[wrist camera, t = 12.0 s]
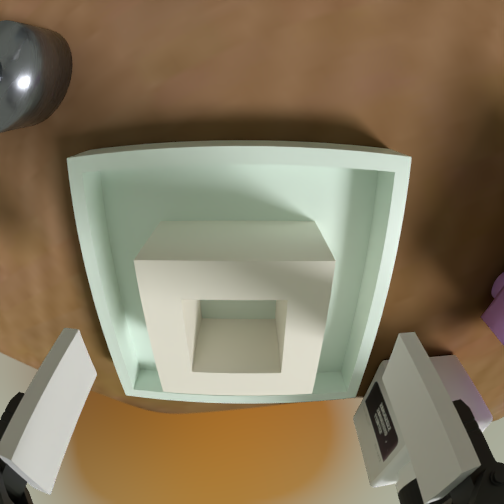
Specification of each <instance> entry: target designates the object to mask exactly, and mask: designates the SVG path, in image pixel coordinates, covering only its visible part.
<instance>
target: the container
mask: <svg viewBox="0 0 504 504" xmlns="http://www.w3.org/2000/svg"><path fill="white" fill-rule="evenodd" d="M429 358H430V360H431V362H432V364H433V366H434V368H435V369H436V371H437V373H438V375H439V377H440V379H441V381H442V383H443V385H444V387H445V388H446V390H447V392H448V394H449V396H450V398H451V400H452V401H455V400H459V399H461V400H462V401H463V402H464V403H465V404H466V405H467V406H469V407H470V409H471V411H472V413H473V415H474V417H475V421H477V423H478V425H479V429H481V431H482V432H483V431H484V430H485V429H486V427H487V426H488V425H489V424H490V423H491V422H492V419H493V418H492V415H491V413H490V411H489V409H488V408H487V406H486V404H485V402H484V401H483V399H482V397H481V395H480V394H479V392H478V390H477V389H476V387H475V385H474V384H473V382H472V380H471V379H470V377H469V376H468V374H467V372H466V371H465V369H464V368H463V366H462V364H461V363H460V361H459V360H458V358H457V357H456V356H455V355H447V356H436V357H429ZM388 362H389V360H383V361H382V362H381V363H380V365H379V368H378V370H377V372H376V374H375V376H374V378H373V380H372V382H371V384H370V386H369V388H368V390H367V392H366V394H365V396H364V398H363V400H362V402H361V404H360V406H359V408H358V410H357V412H356V414H355V415H354V418H353V420H354V424H355V427H356V431H357V435H358V439H359V442H360V446H361V450H362V454H363V458H364V462H365V466H366V470H367V474H368V478H369V482H370V485H371V486H372V487H379V486H384V485H389V484H394V483H396V489H397V493H398V497H399V500H400V504H424V502H423V499H422V495H421V492H420V488H419V485H418V482H417V478H416V475H415V472H414V469H413V466H412V462H411V459H410V456H409V453H408V450H407V447H406V444H405V441H404V438H403V435H402V432H401V429H400V427H399V424H398V421H397V418H396V415H395V412H394V410H393V407H392V404H391V401H390V399H389V396H388V393H387V391H386V388H385V385H384V383H383V380H382V377H383V374H384V372H385V369H386V367H387V364H388ZM450 498H451V495H450V492H449V493H448V494H447V495H446V496H444V497H443V498H442V499H439V500H436V501H433V502H430V503H428V504H443V503H444V502H446V501H447V500H448V499H450Z"/></svg>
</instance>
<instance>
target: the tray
mask: <svg viewBox="0 0 504 504" xmlns="http://www.w3.org/2000/svg"><path fill="white" fill-rule="evenodd" d="M67 165H68V174H69V182H70V189H71V196H72V203H73V209H74V215H75V220H76V226H77V231H78V236H79V241H80V246H81V251H82V255H83V260H84V264H85V268H86V273H87V277H88V281H89V285H90V288H91V292H92V296H93V300H94V303H95V307H96V310H97V314H98V317H99V320H100V323H101V327H102V330H103V333H104V336H105V339H106V342H107V345H108V348H109V351H110V354H111V357H112V360H113V362H114V365H115V368H116V371H117V373H118V376H119V379H120V381H121V384H122V386H123V389H124V391H125V394H126V395H128V396H136V397H145V398H154V399H164V400H176V401H190V402H209V403H291V402H310V401H324V400H336V399H346V398H355V397H356V394H357V392H358V389H359V386H360V383H361V380H362V377H363V374H364V372H365V369H366V366H367V363H368V359H369V356H370V353H371V350H372V347H373V343H374V340H375V337H376V333H377V330H378V327H379V323H380V319H381V316H382V312H383V308H384V305H385V301H386V297H387V293H388V289H389V285H390V280H391V276H392V272H393V267H394V263H395V258H396V253H397V248H398V243H399V238H400V233H401V227H402V222H403V216H404V210H405V203H406V197H407V190H408V183H409V175H410V166H411V157H410V156H408V155H405V154H402V153H400V152H397V151H394V150H391V149H387V148H378V147H369V146H358V145H347V144H334V143H319V142H300V141H271V140H215V141H185V142H167V143H152V144H139V145H128V146H117V147H108V148H99V149H91V150H88V151H85V152H82V153H79V154H77V155H74V156H71V157H68V158H67ZM160 221H315V223H316V225H317V226H318V228H319V230H320V232H321V234H322V236H323V238H324V239H325V241H326V243H327V245H328V247H329V249H330V251H331V253H332V255H333V257H334V259H335V260H336V263H335V270H334V277H333V284H332V290H331V297H330V303H329V309H328V315H327V321H326V326H325V332H324V338H323V343H322V348H321V353H320V358H319V363H318V368H317V373H316V378H315V383H314V387H313V392H312V394H298V395H266V396H234V395H203V394H185V393H171V392H163V389H162V386H161V382H160V378H159V375H158V371H157V367H156V363H155V359H154V355H153V351H152V347H151V343H150V339H149V335H148V330H147V326H146V321H145V317H144V312H143V307H142V303H141V298H140V293H139V287H138V282H137V276H136V271H135V265H134V259H135V257H136V256H137V254H138V253H139V251H140V250H141V248H142V247H143V246H144V244H145V243H146V241H147V240H148V238H149V237H150V235H151V234H152V233H153V231H154V230H155V228H156V227H157V226H158V224H159V223H160ZM200 303H201V314H202V318H213V319H275V312H276V300H200Z"/></svg>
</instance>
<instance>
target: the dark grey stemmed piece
mask: <svg viewBox="0 0 504 504" xmlns="http://www.w3.org/2000/svg"><path fill="white" fill-rule="evenodd" d="M71 74H72V56H71V51H70V48H69V45H68V43H67V42H66V40H65V39H64V38H63V37H62V36H61V35H60V34H58V33H57V32H54V31H52V30H48V29H44V28H40V27H36V26H32V25H28V24H23V23H19V22H14V21H8V20H6V21H0V133H1V132H5V131H10V130H14V129H19V128H23V127H28V126H33V125H36V124H39V123H41V122H43V121H44V120H45V119H47V118H48V117H49V116H50V115H52V113H53V112H54V111H55V110H56V109H57V108H58V106H59V105H60V103H61V102H62V100H63V98H64V96H65V94H66V92H67V89H68V86H69V83H70V79H71Z"/></svg>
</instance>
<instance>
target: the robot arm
mask: <svg viewBox="0 0 504 504" xmlns="http://www.w3.org/2000/svg"><path fill="white" fill-rule="evenodd" d="M96 376H97V373H96V371H95V368H94V366H93V364H92V361H91V359H90V357H89V354H88V352H87V349H86V347H85V344H84V342H83V339H82V336H81V334H80V331H79V330H78V329H70V328H64V329H63V331H62V333H61V334H60V336H59V337H58V339H57V340H56V342H55V344H54V345H53V347H52V348H51V350H50V352H49V353H48V355H47V356H46V358H45V360H44V361H43V363H42V365H41V366H40V368H39V370H38V372H37V373H36V375H35V377H34V378H33V380H32V382H31V384H30V385H29V387H28V389H27V391H26V392H25V394H24V393H20V392H19V393H18V394H17V395H15V396H14V397H13V398H12V399H11V400H10V402H9V404H8V405H7V407H6V409H5V412H4V413H3V415H2V417H1V420H0V504H33V502H32V499H31V496H30V494H29V491H28V490H27V488H26V484H27V482H28V483H29V484H30V485H31V486H32V487H34V488H35V489H37V490H40V491H42V492H44V493H47V494H51V492H52V489H53V486H54V483H55V480H56V477H57V474H58V471H59V468H60V465H61V462H62V460H63V457H64V454H65V452H66V449H67V446H68V444H69V441H70V438H71V436H72V433H73V431H74V428H75V425H76V423H77V420H78V418H79V415H80V413H81V410H82V408H83V406H84V403H85V401H86V399H87V396H88V394H89V392H90V389H91V387H92V385H93V382H94V380H95V378H96ZM382 380H383V383H384V385H385V388H386V391H387V393H388V396H389V399H390V401H391V404H392V407H393V410H394V412H395V415H396V418H397V421H398V424H399V427H400V429H401V432H402V435H403V438H404V441H405V444H406V447H407V450H408V453H409V456H410V459H411V462H412V466H413V469H414V472H415V475H416V478H417V482H418V485H419V488H420V492H421V495H422V499H423V502H424V504H428V503H430V502H433V501H436V500H439V499H442V498H443V497H444V496H446V495H447V494H448V493H449V492H450V495H451V498H450V499H448V500H447V501H446V502H444V503H443V504H504V464H503V463H499V462H496V461H495V459H494V457H493V455H492V453H491V451H490V449H489V446H488V444H487V442H486V440H485V438H484V436H483V434H482V431H481V429H479V425H478V423H477V421H475V417H474V415H473V413H472V411H471V409H470V407H469V406H467V405H466V404H465V403H464V402H463V401H462V400H461V399H459V400H455V401H452V400H451V398H450V396H449V394H448V392H447V390H446V388H445V387H444V385H443V383H442V381H441V379H440V377H439V375H438V373H437V371H436V369H435V368H434V366H433V364H432V362H431V360H430V358H429V357H428V355H427V353H426V351H425V349H424V348H423V346H422V344H421V342H420V341H419V339H418V337H417V335H416V334H415V332H409V333H399V335H398V337H397V340H396V343H395V346H394V348H393V351H392V354H391V356H390V359H389V362H388V364H387V367H386V369H385V372H384V374H383V377H382Z"/></svg>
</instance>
